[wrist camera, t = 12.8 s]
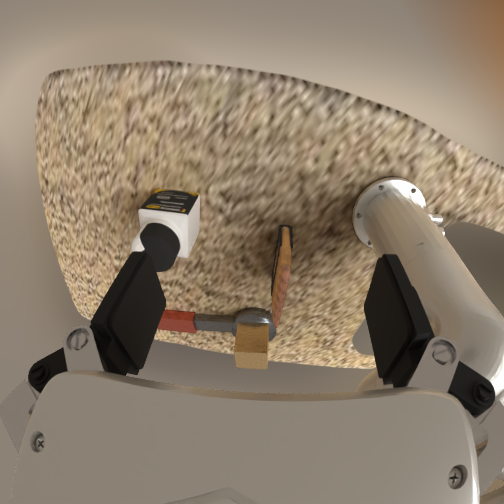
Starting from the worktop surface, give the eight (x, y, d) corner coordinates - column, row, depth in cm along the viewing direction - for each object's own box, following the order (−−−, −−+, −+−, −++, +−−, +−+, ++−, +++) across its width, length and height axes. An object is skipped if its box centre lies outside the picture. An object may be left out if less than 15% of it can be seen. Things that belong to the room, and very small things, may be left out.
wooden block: (269, 323, 52) (267, 353, 47) (268, 340, 56) (267, 369, 50) (238, 322, 53) (233, 351, 47) (240, 339, 57) (236, 367, 51)
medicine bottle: (200, 192, 40) (175, 237, 30) (199, 232, 44) (178, 282, 35) (156, 187, 40) (120, 229, 30) (159, 226, 44) (129, 273, 35)
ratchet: (276, 308, 54) (276, 333, 49) (276, 335, 59) (275, 358, 54) (153, 301, 56) (143, 323, 51) (164, 327, 61) (156, 348, 56)
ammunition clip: (279, 224, 42) (279, 277, 33) (291, 225, 42) (294, 278, 33) (271, 276, 49) (268, 331, 39) (282, 277, 49) (281, 332, 39)
